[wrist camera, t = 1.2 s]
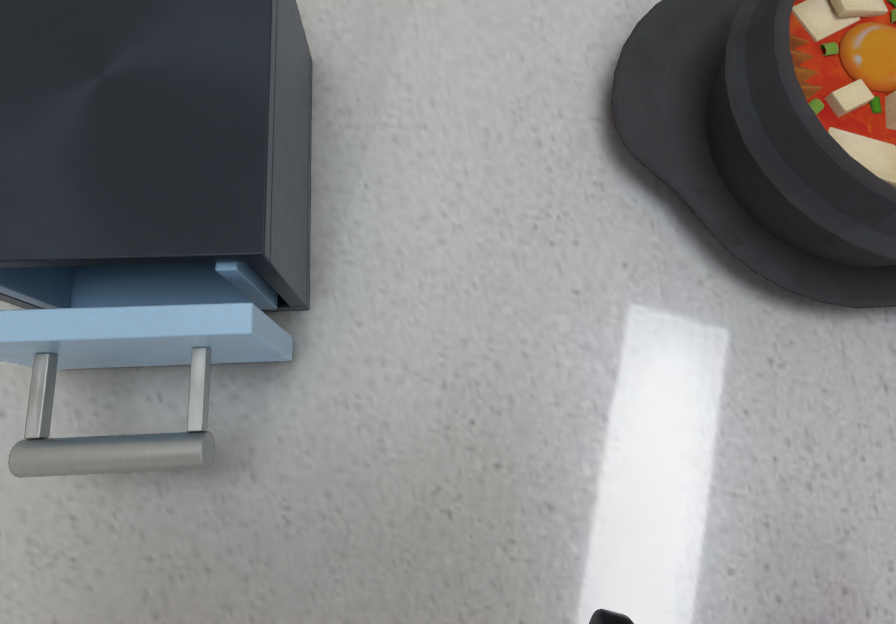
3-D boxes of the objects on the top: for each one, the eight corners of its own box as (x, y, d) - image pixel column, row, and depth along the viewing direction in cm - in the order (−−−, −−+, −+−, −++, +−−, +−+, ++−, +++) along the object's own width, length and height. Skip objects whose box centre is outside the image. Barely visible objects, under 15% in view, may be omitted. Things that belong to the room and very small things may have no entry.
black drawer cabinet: (309, 310, 28) (264, 254, 20) (51, 318, 28) (-109, 263, 19) (312, 60, 32) (274, -78, 23) (82, 61, 31) (-43, -81, 23)
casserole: (1051, 118, 33) (1257, 12, 25) (987, 402, 29) (1209, 385, 21) (665, -47, 35) (741, -198, 26) (549, 201, 30) (597, 112, 22)
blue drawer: (291, 462, 26) (246, 468, 19) (33, 474, 25) (-106, 485, 18) (297, 110, 30) (262, 16, 23) (76, 113, 29) (-24, 16, 23)
